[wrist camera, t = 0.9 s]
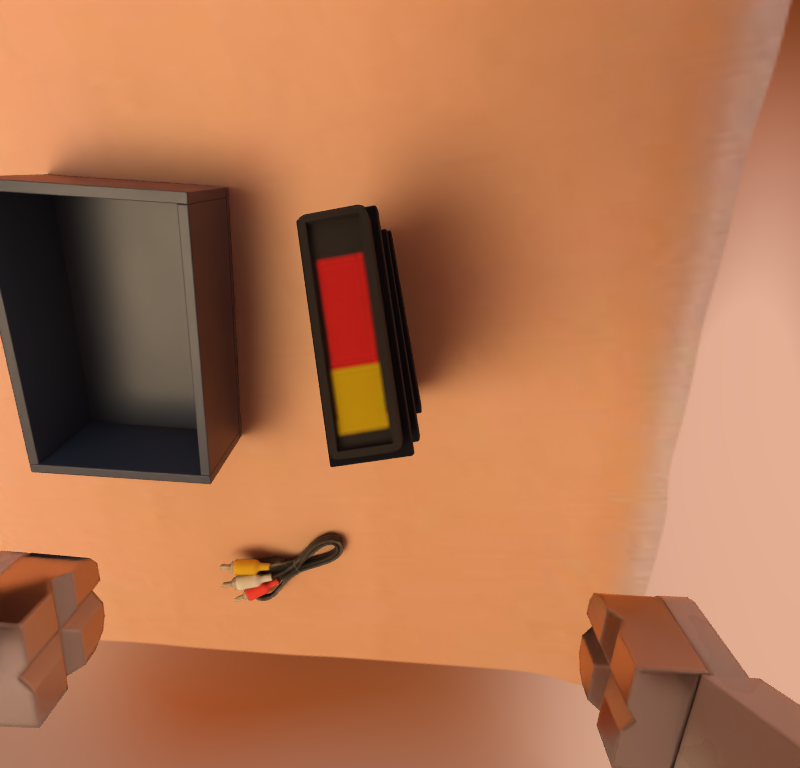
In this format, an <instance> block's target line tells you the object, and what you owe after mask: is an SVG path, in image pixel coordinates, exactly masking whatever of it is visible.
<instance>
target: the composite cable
mask: <svg viewBox="0 0 800 768" xmlns="http://www.w3.org/2000/svg"><path fill="white" fill-rule="evenodd" d="M326 545H334V546H335V548H334V549H333V550H332V551H330V552H328V553H326V554H323V555H320V556H316V557H312V558H310V557H311V556H312V555H313V554H314V553H315V552H317V551H318V550H319V549H320V548H322V547H323V546H326ZM342 552H343V541H342V539H341V538H340V537H339V536H337V535H333V534H331V535H330V534H329V535H325V536H322V537H320V538H318V539H316V540H315V541H313V542H312V543H311V544H310V545H309V546H308V547H307V548H306V549H305V551H303V552H302V554H301V555H300V556H298V557H297V558H294V559H288V560H287V559H285V558H283V559H280V558H278V557H272V558H267V559H261V560H255V559H236V560H235V561H232V563H231V564H222V565H221V566H220V569H230V572H231V573H234V574H235V575H237V576H236V577H234V578H233V579H232V581H231V582H224V583H223V584H222V587H223V588H225V587H230V586H231V587H232V588H233V589H234V590H236V589H237V590H243V589H245V590H244V592H243V595H240V596H238V597H236V598H235V602H238V601H240V600H242V599H245V601H249V600H250V601H251V600H254V599H257V600H260V601H266V600H269V599H272V598H273V597H274V596H276V595H277V594H278V592H279V591H280V590H281V589H282V587H283V586H284V585H285V584H286V583H287V582H288V581H289V580H290V579H291V578H293V577H294V576H295V575H297V574H299V573H300V572H303V571H306V570H309V569H312V568H316V567H319V566H322V565H325V564H328V563H330V562H332V561H334V560H336V559H337V558H339V557H340V556H341V554H342ZM281 580H283V581H282V582H281V584H280V585H279V586H278V587H277V588H276V589H275V590H274V591H273V592H272V593H269V594H267V593H268V592H269V591H270V589H271V588H272V587H273V586H275V585H277V584H279V583H280V581H281Z"/></svg>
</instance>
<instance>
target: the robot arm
mask: <svg viewBox="0 0 800 768" xmlns="http://www.w3.org/2000/svg"><path fill="white" fill-rule="evenodd" d="M99 581H100V576H99V571H98V565H97V563H96V562H95V561H93V560H92V559H90V558H82V557H71V556H60V555H49V554H38V553H30V554H29V553H23V552H10V551H0V726H1V727H2V726H3V727H27V728H40V726H41V725H42V724H43V722H44V721H45V720H46V718H47V717H48V715H49V714H50V713H51V711H52V710H53V709H54V707H55V706H56V704H57V703H58V702H59V700H60V699H61V698H62V696H63V695H64V693H65V692H66V691H67V689H68V685H67V675H69V674H71V673H72V672H74V671H75V670H77V669H79V668H81V667H82V666H84V665H85V664H86V663H87V661H88V660H89V659H90V657H91V655H92V654H93V653H94V651H95V650H96V647H97V645H98V642H99V640H100V637H101V634H102V632H103V626H104V617H105V614H104V606H103V602H102V601H101V600H100V599H99V598H98V597H97V595H96V594H95V593H94V592H93V591H92V590H93V589H94V588H95V586H96V585H97V584H98V582H99ZM587 615H588V618H589V620H590V622H591V625H592V627H591V628H590V629H589V630H588V631H587V632H586V633H585V634H583V635H582V639H581V645H580V651H579V660H580V674H581V679H582V684H583V687H584V690H585V693H586V696H587V699H588V700H589V701H590V702H591V703H592V704H593V705H594V706H595V707H596V708H598V709H599V710H600V713H599V717H598V722H597V727H598V730H599V733H600V736H601V739H602V741H603V744H604V747H605V750H606V753H607V755H608V758H609V761H610V764H611V766H612V768H800V705H799V704H797V703H796V702H794V701H793V700H791V699H790V698H788V697H786V696H785V695H784V694H782V693H781V692H779V691H778V690H776V689H775V688H773V687H772V686H770V685H769V684H767V683H766V682H764V681H763V680H761V679H756V678H749V677H748V675H747V674H746V672H745V671H744V670H743V669H742V667H741V666H740V664H739V663H738V661H737V660H736V659H735V657H734V656H733V654H732V653H731V652H730V650H729V649H728V648H727V646H726V645H725V643H724V642H723V641H722V639H721V638H720V637H719V635H718V634H717V632H716V631H715V630H714V628H713V627H712V625H711V624H710V623H709V621H708V620H707V618H706V617H705V616H704V614H703V613H702V612H701V610H700V609H699V607H698V606H697V605H696V603H695V602H693V601H692V600H691V599H689V598H688V597H670V596H655V597H648V596H634V595H618V594H602V593H594V594H593V595H592V597H591V599H590V601H589V605H588V610H587Z"/></svg>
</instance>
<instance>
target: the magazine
mask: <svg viewBox="0 0 800 768" xmlns="http://www.w3.org/2000/svg"><path fill="white" fill-rule="evenodd" d="M297 229H298V237H299V244H300V251H301V258H302V265H303V273H304V280H305V287H306V294H307V302H308V309H309V316H310V323H311V330H312V338H313V345H314V352H315V359H316V366H317V374H318V381H319V388H320V395H321V403H322V410H323V417H324V424H325V431H326V439H327V446H328V453H329V460H330V466H331V467H336V466H343V465H350V464H357V463H364V462H371V461H378V460H385V459H392V458H399V457H406V456H412V455H413V454H414V447H413V442H416V441H419V439H420V433H419V427H418V421H417V415H416V413H421V400H420V395H419V389H418V383H417V377H416V372H415V366H414V360H413V354H412V349H411V343H410V337H409V331H408V325H407V320H406V314H405V308H404V302H403V297H402V291H401V285H400V279H399V274H398V268H397V262H396V256H395V250H394V245H393V239H392V233H391V230H388V231H386V229H383V230H381V226H380V220H379V213H378V210H377V207H376V206H369V207H364V206H362V205H353V206H348V207H343V208H337V209H332V210H327V211H321V212H316V213H311V214H305V215H303V216H301V217H300V218H299V220H297Z"/></svg>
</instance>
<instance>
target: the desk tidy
mask: <svg viewBox="0 0 800 768" xmlns="http://www.w3.org/2000/svg"><path fill="white" fill-rule="evenodd" d="M0 335H1V340H2V344H3V348H4V353H5V357H6V362H7V366H8V370H9V375H10V379H11V384H12V388H13V393H14V397H15V401H16V406H17V410H18V415H19V419H20V423H21V428H22V432H23V437H24V441H25V445H26V450H27V454H28V459H29V463H30V467H31V471H32V472H39V473H54V474H69V475H84V476H98V477H113V478H128V479H143V480H158V481H172V482H187V483H202V484H211V483H212V481H213V480H214V478H215V477H216V475H217V473H218V472H219V470H220V469H221V467H222V466H223V464H224V462H225V461H226V459H227V458H228V456H229V455H230V453H231V451H232V450H233V448H234V447H235V445H236V443H237V442H238V440H239V439H240V437H241V436H242V435H241V416H240V398H239V379H238V361H237V342H236V324H235V305H234V287H233V268H232V250H231V231H230V213H229V194H228V187H223V186H208V185H194V184H179V183H164V182H150V181H135V180H121V179H106V178H91V177H77V176H62V175H47V174H44V175H10V176H0Z"/></svg>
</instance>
